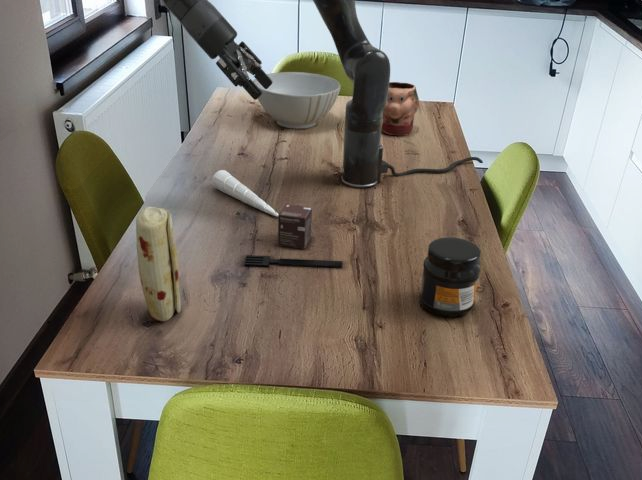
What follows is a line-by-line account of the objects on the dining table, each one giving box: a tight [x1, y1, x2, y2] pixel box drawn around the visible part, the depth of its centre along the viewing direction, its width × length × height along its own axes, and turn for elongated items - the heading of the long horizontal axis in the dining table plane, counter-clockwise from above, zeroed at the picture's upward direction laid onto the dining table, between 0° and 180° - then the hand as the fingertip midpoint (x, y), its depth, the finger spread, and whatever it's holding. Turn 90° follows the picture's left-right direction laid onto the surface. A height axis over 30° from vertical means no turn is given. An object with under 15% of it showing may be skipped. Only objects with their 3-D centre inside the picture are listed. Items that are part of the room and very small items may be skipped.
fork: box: [243, 254, 343, 269], centre depth 146 cm, size 20×4×1 cm, turn 90°
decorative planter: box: [381, 81, 420, 136], centre depth 216 cm, size 20×12×14 cm, turn 174°
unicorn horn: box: [211, 169, 279, 218], centre depth 168 cm, size 5×24×5 cm, turn 40°
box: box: [277, 203, 313, 250], centre depth 152 cm, size 6×6×7 cm
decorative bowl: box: [252, 71, 341, 130], centre depth 219 cm, size 27×27×12 cm
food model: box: [135, 205, 182, 322], centre depth 122 cm, size 10×7×20 cm
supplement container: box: [419, 236, 482, 318], centre depth 131 cm, size 10×10×12 cm
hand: (264, 91), depth 148 cm, fingers open, 8 cm apart
